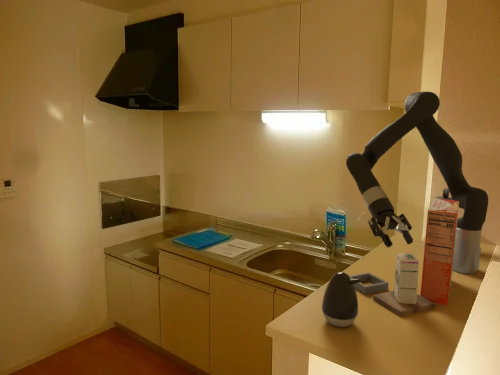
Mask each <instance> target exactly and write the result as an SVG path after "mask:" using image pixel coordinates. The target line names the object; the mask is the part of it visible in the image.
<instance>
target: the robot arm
mask: <svg viewBox="0 0 500 375" xmlns="http://www.w3.org/2000/svg"><path fill="white" fill-rule="evenodd" d="M440 103H441V102H440V98H439V96H438V95H437V94H436V93H435V92H433V91H417V92H413V93H410V94H408V95H407V97H406V98H405V101H404V104H403V105H404V106H403V107H404V110H405V113H403V115H401V116H400V117H399V118H398V119H396V120H395V121H394V122H392V123H390V124H389V125H387V126H385V127H383V129H381V130H380V131H379V132H377V133H376V134H375V135H374V136H373V137H372V138H371V139H370V140H369V141H368V142H367V143H366V144H365V145H364V151H363V152H362V153H360V152H353V153H350V154H349V155H348V156H347V158H346V160H345V165H346V168H347V169H348V172H349V173H350V176H352V178H353V180H354V181H355V183H356V187H357V188H358V190H359V193H360V194H361V196H362V198H363V201H364V204H365V205H366V206H365V207H366V208H367V209H368V211H369V213H370V215H371V218H370V219H368V221H367V223H368V224H369V225H368V226H369V227H370V229H371V231H372V234H373V236H374V237H375V238H376V237H379V238H381V241H382V243H384V245H385V247H386V248H391V247H392V246H393V242H392V240H391V238H390V236H389V235H388V234H387V232H388V231H389V230H394V231H396V232H399V233H400V234H402V236H403V239H404V241H405V242H406V244H407V245H411V244H413V242H414V238H413V237H412V235H411V233H410V231H411V230H413V226H412V225H411V223H410V222H409V220H408V218H407V217H406V216H405V214H404V213H401V214H399V215H397V214H396V213H395V207H394V206H393V204H392V202H391V200H390V199H389V197H388V195H387V193H386V192H385V190H384V189H383V187H382V186H381V184H380V183H379V180H378V179H377V177H376V176H375V175H374V173H373V171H372V169H374V167H375V165H376V164H377V163H378V161H379V160H380V159H381V158H382V157H383V155H384V154H386V153H387V152H388V151H389V150H390V149H391V148H392V147H393V146H394V145H396V144H397V143H398V142H399V141H400V140H401V139H403V137H405V136H406V135H407V134H408V133H409V132H411V131H412V130H413V129H417V130H418V132H419V134H420V136H421V138H422V140H423V142H424V145H425V146H426V148H427V149H428V152H429V154H430V156H431V157H432V160H433V162H434V163H435V165H436V166H437V168H438V170H439V173H440V175H441V176H442V177H443V179H444V181H445V183H446V185H447V188H448V189H449V195H450V197H451V198H452V199H453V200H456V201H459V208H460V209H461V210H462V209H463V214H462V217H458V218H457V227H456V237H455V247H454V257H453V267H452V271H454V272H456V273H460V274H466V275H475V274H477V273H478V271H479V270H480V269H479V268H480V262H481V261H480V259H481V253H482V247H481V239H482V230H483V226H484V224H485V222H486V218H487V212H488V209H489V208H488V207H489V196H488V193H487V192H486V190H484V189H482V188H479V187H476V186H475V187H474V186H471V185H470V183H469V182H468V181H467V180H466V178H465V176H464V173H463V156H462V152H461V150H460V148H459V146H458V145H457V143H456V141H455V140H454V139H453V136H451V135H450V134H449V133H448V132H447V131H446V130H445V129H444V128H443V127H442V126H441V125H440V124H439V123H438V122H437V120H436V118H435V116H434V115H435V114H436V113H437V112H438V110H439V108H440V106H441V105H440ZM459 208H458V209H459Z"/></svg>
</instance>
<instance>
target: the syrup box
mask: <svg viewBox="0 0 500 375" xmlns="http://www.w3.org/2000/svg"><path fill="white" fill-rule="evenodd" d="M419 267H420V259H419V258H418V257H417V256H416V255H415V254H414V253H396V260H395V274H394V276H395V277H394V290H393V291H394V296H395V298H396V300H397V302H398V303H405V304H416V300H417V294H418V287H419V269H420V268H419Z"/></svg>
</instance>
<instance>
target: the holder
mask: <svg viewBox="0 0 500 375" xmlns="http://www.w3.org/2000/svg"><path fill="white" fill-rule="evenodd" d="M349 276H350V278H351V279H360V283H356V284H354V287H355V290H357V291H359V292H361V293H362V294H364V295H368V294H373V293H378V292H382V291H383V292H384V291H388V290H389V282H387V281H386V280H384V279H383V278H381V277H378V276H377V275H375V274H373V273H371V272H363V273H360V274H352V275H349ZM365 281H369V282H371V283H372V284H368V285H366V284H363V282H365Z"/></svg>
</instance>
